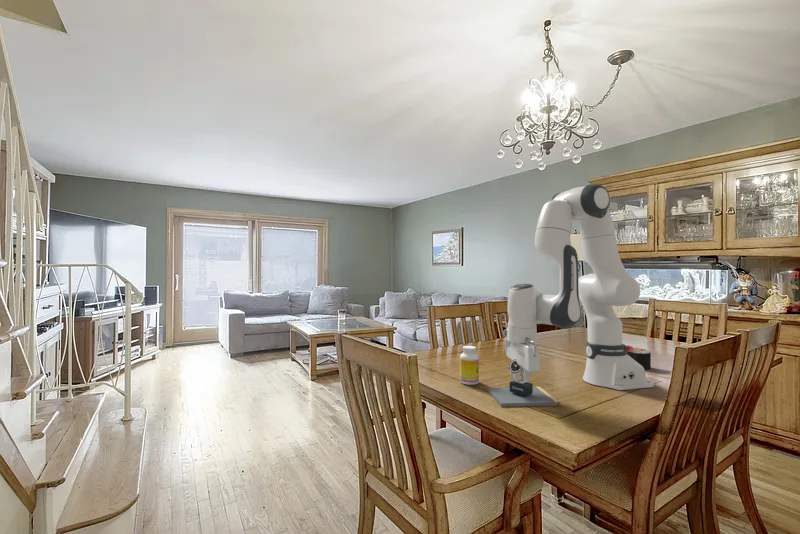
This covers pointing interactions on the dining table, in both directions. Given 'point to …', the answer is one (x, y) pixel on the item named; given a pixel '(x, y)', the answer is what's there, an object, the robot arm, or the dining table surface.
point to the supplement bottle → (469, 366)
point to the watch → (516, 384)
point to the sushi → (641, 357)
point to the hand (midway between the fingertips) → (521, 378)
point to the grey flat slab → (522, 397)
